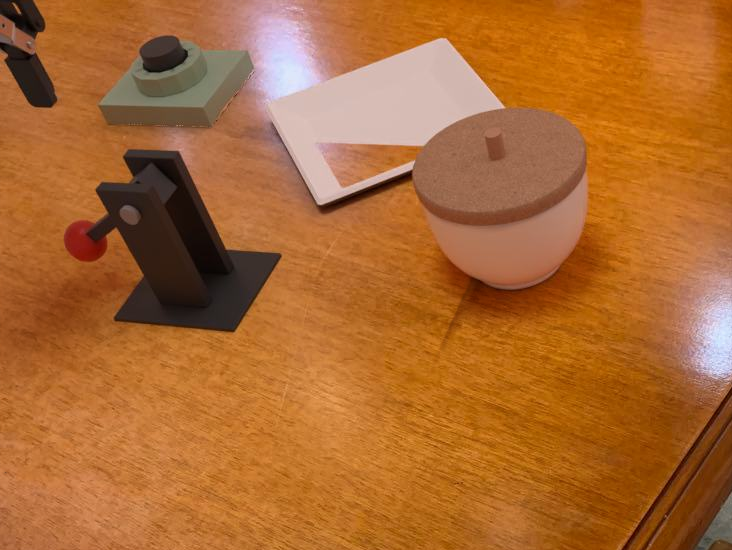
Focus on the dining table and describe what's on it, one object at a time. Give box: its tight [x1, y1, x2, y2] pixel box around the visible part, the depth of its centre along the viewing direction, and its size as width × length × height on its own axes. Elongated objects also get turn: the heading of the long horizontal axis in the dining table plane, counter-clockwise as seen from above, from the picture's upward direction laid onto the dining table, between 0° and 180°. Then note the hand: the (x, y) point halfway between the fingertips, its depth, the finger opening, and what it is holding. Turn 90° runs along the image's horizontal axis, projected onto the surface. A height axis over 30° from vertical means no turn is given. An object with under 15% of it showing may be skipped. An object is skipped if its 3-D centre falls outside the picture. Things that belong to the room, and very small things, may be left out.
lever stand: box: [94, 148, 282, 333], centre depth 79 cm, size 11×9×12 cm
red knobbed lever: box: [63, 163, 177, 263], centre depth 79 cm, size 13×3×3 cm, turn 74°
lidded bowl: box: [411, 107, 589, 291], centre depth 76 cm, size 13×13×11 cm
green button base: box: [97, 40, 255, 128], centre depth 102 cm, size 12×10×4 cm
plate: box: [263, 37, 506, 208], centre depth 93 cm, size 19×19×2 cm
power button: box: [138, 34, 187, 73], centre depth 100 cm, size 4×4×2 cm
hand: (14, 138), depth 75 cm, fingers open, 8 cm apart
